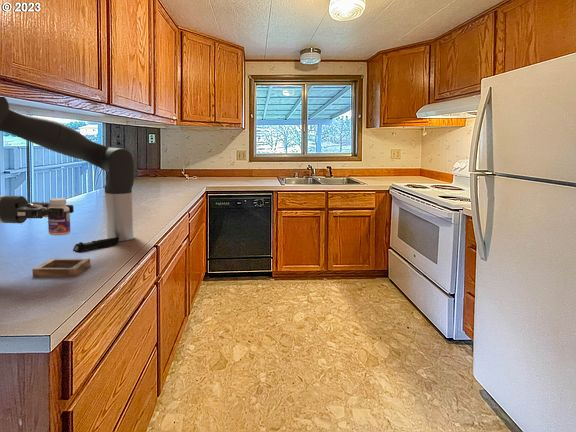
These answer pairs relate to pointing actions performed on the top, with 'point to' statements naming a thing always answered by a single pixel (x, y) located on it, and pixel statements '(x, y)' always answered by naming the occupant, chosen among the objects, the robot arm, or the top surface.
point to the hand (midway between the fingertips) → (68, 210)
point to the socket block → (48, 269)
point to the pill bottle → (59, 218)
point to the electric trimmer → (95, 244)
